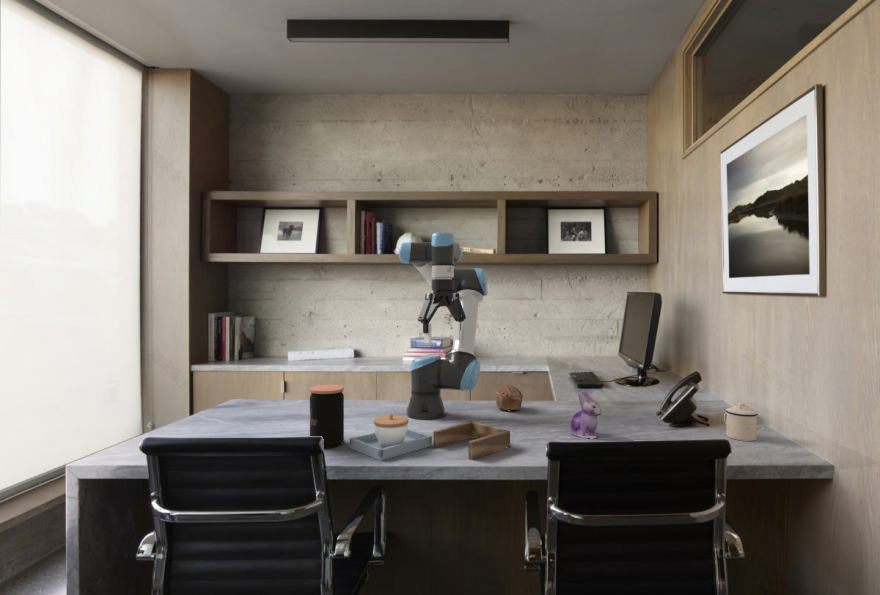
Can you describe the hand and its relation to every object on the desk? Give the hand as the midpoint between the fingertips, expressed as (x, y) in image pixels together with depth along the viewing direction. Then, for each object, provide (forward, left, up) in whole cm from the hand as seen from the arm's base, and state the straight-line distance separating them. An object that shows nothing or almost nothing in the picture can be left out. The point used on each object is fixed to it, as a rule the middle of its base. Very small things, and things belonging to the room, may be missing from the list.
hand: (442, 342), depth 168 cm
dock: (+15, -2, -32) cm, 35 cm away
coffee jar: (-19, -33, -32) cm, 50 cm away
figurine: (+33, +36, -32) cm, 58 cm away
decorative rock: (-8, +46, -32) cm, 57 cm away
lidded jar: (-2, -20, -31) cm, 37 cm away
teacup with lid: (+69, +72, -32) cm, 105 cm away
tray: (-2, -20, -32) cm, 38 cm away
